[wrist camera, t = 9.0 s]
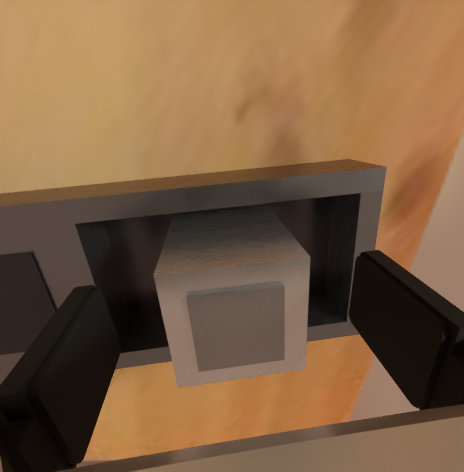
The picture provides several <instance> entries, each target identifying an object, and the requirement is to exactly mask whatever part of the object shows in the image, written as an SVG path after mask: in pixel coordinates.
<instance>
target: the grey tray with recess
mask: <svg viewBox="0 0 464 472" xmlns="http://www.w3.org/2000/svg"><path fill="white" fill-rule="evenodd" d="M385 174H386V167H384V166H379V165H375V164H370V163H365V162H361V161H356V160H351V159H347V160H337V161H327V162H316V163H306V164H296V165H286V166H276V167H266V168H256V169H246V170H236V171H226V172H216V173H206V174H195V175H185V176H175V177H165V178H155V179H145V180H135V181H125V182H115V183H105V184H95V185H84V186H74V187H64V188H54V189H44V190H34V191H24V192H14V193H4V194H0V385H1V383H2V382H3V381H4V379H5V378H6V377H7V375H8V374H9V373H10V372H11V370H12V369H13V368H14V366H15V365H16V364H17V362H18V361H19V360H20V358H21V357H22V356H23V354H24V353H25V352H26V350H27V349H28V348H29V347H30V345H31V344H32V343H33V341H34V340H35V339H36V337H37V336H38V335H39V333H40V332H41V331H42V329H43V328H44V327H45V325H46V324H47V323H48V322H49V320H50V319H51V318H52V316H53V315H54V314H55V312H56V311H57V310H58V308H59V307H60V306H61V304H62V303H63V302H64V300H65V299H66V298H67V297H68V295H69V294H70V293H71V291H72V290H73V289H74V288H75V287H79V286H88V285H94V286H95V287H96V288H100V289H101V290H102V293H103V296H104V299H105V302H106V305H107V308H108V311H109V313H110V316H111V319H112V322H113V325H114V328H115V331H116V334H117V337H118V340H119V343H120V348H121V350H120V356H119V359H118V362H117V365H116V368H115V369H120V368H126V367H133V366H140V365H147V364H154V363H161V362H168V361H172V358H171V353H170V349H169V344H168V340H167V335H166V330H165V326H164V321H163V317H162V312H161V308H160V303H159V298H158V294H157V289H156V285H155V280H154V276H153V275H154V272H155V269H156V266H157V263H158V260H159V257H160V254H161V251H162V248H163V245H164V242H165V239H166V236H167V233H168V230H169V227H170V224H171V221H172V218H173V216H176V215H185V214H195V213H205V212H215V211H225V210H235V209H244V208H254V207H264V206H268V207H269V208H270V209H271V210H272V211H273V213H274V214H275V215H276V216H277V217H278V219H279V220H280V221H281V222H282V223H283V225H284V226H285V227H286V228H287V229H288V231H289V232H290V233H291V234H292V235H293V237H294V238H295V239H296V240H297V241H298V243H299V244H300V245H301V246H302V247H303V249H304V250H305V251H306V252H307V253H308V255H309V256H310V278H309V300H308V322H307V342H308V341H315V340H322V339H329V338H336V337H343V336H350V335H357V334H359V332H358V331H357V330H356V328H355V327H354V326H353V324H352V323H351V321H350V318H349V307H350V299H351V291H352V283H353V276H354V268H355V260H356V258H357V257H358V256H360V254H361V253H362V252H365V251H373V250H375V244H376V237H377V230H378V223H379V216H380V209H381V202H382V195H383V188H384V181H385Z"/></svg>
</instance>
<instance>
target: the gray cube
mask: <svg viewBox="0 0 464 472" xmlns="http://www.w3.org/2000/svg"><path fill="white" fill-rule="evenodd" d="M153 276H154V280H155V285H156V289H157V294H158V298H159V303H160V308H161V312H162V317H163V321H164V326H165V330H166V335H167V340H168V344H169V349H170V353H171V358H172V362H173V367H174V372H175V376H176V381H177V385H178V388H181V387H188V386H195V385H202V384H208V383H215V382H222V381H229V380H236V379H243V378H250V377H257V376H264V375H271V374H278V373H285V372H291V371H298V370H305V366H306V344H307V322H308V300H309V278H310V256H309V255H308V253H307V252H306V251H305V250H304V249H303V247H302V246H301V245H300V244H299V243H298V241H297V240H296V239H295V238H294V237H293V235H292V234H291V233H290V232H289V231H288V229H287V228H286V227H285V226H284V225H283V223H282V222H281V221H280V220H279V219H278V217H277V216H276V215H275V214H274V213H273V211H272V210H271V209H270V208H269V207H268V206H264V207H254V208H244V209H235V210H225V211H215V212H205V213H195V214H185V215H176V216H173V218H172V221H171V224H170V227H169V230H168V233H167V236H166V239H165V242H164V245H163V248H162V251H161V254H160V257H159V260H158V263H157V266H156V269H155V272H154V275H153Z"/></svg>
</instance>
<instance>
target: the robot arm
mask: <svg viewBox="0 0 464 472" xmlns="http://www.w3.org/2000/svg"><path fill="white" fill-rule="evenodd" d="M349 318H350V321H351V323H352V324H353V326H354V327H355V328H356V330H357V331H358V332H359V334H360V335H361V337H362V338H363V339H364V341H365V342H366V343H367V345H368V346H369V347H370V349H371V350H372V351H373V353H374V354H375V356H376V357H377V358H378V359H379V361H380V362H381V363H382V365H383V366H384V368H385V369H386V370H387V372H388V373H389V375H390V376H391V377H392V379H393V380H394V381H395V383H396V384H397V385H398V387H399V388H400V389H401V391H402V392H403V394H404V395H405V396H406V398H407V399H408V400H409V402H410V403H411V404H412V405H413V406H414V407H416V408H419V409H420V410H419V411H414V412H407V413H401V414H394V415H388V416H382V417H376V418H369V419H363V420H356V421H350V422H344V423H337V424H331V425H325V426H319V427H313V428H307V429H300V430H294V431H288V432H282V433H276V434H270V435H264V436H258V437H252V438H246V439H240V440H234V441H228V442H222V443H216V444H210V445H204V446H198V447H192V448H186V449H180V450H174V451H168V452H163V453H157V454H151V455H145V456H139V457H133V458H127V459H122V460H116V461H110V462H104V463H99V464H94V465H88V466H83V467H78V468H76V465H77V464H78V463H81V462H82V460H83V459H84V456H85V454H86V451H87V448H88V445H89V442H90V439H91V437H92V434H93V431H94V428H95V425H96V422H97V419H98V416H99V414H100V411H101V408H102V405H103V402H104V399H105V396H106V393H107V391H108V388H109V385H110V382H111V379H112V376H113V373H114V370H115V368H116V365H117V362H118V359H119V356H120V350H121V348H120V343H119V340H118V337H117V334H116V331H115V328H114V325H113V322H112V319H111V316H110V313H109V311H108V308H107V305H106V302H105V299H104V296H103V293H102V290H101V289H100V288H96V287H95V286H94V285H88V286H79V287H75V288H74V289H73V290H72V291H71V293H70V294H69V295H68V297H67V298H66V299H65V300H64V302H63V303H62V304H61V306H60V307H59V308H58V310H57V311H56V312H55V314H54V315H53V316H52V318H51V319H50V320H49V322H48V323H47V324H46V325H45V327H44V328H43V329H42V331H41V332H40V333H39V335H38V336H37V337H36V339H35V340H34V341H33V343H32V344H31V345H30V347H29V348H28V349H27V350H26V352H25V353H24V354H23V356H22V357H21V358H20V360H19V361H18V362H17V364H16V365H15V366H14V368H13V369H12V370H11V372H10V373H9V374H8V375H7V377H6V378H5V379H4V381H3V382H2V383H1V385H0V472H464V312H463V311H461V310H460V309H459V308H457V307H456V306H455V305H453V304H452V303H450V302H449V301H448V300H446V299H445V298H444V297H442V296H441V295H440V294H438V293H437V292H435V291H434V290H433V289H431V288H430V287H429V286H427V285H426V284H424V283H423V282H422V281H420V280H419V279H418V278H416V277H415V276H414V275H412V274H411V273H410V272H408V271H407V270H406V269H404V268H403V267H401V266H400V265H399V264H397V263H396V262H395V261H393V260H392V259H391V258H389V257H388V256H386V255H385V254H384V253H382V252H381V251H379V250H373V251H365V252H362V253H361V254H360V256H358V257H357V258H356V260H355V268H354V276H353V283H352V291H351V299H350V307H349Z"/></svg>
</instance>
